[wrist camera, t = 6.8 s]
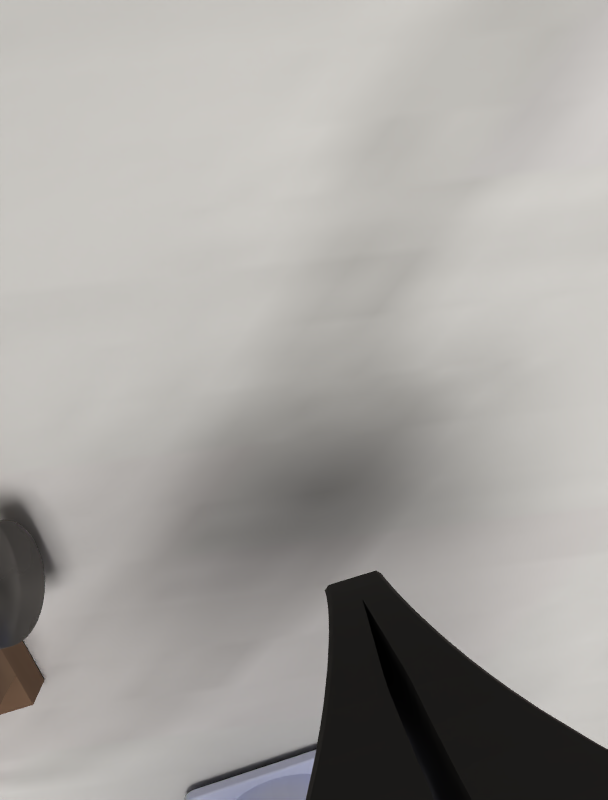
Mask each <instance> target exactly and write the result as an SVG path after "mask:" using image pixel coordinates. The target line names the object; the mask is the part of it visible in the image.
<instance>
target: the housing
mask: <svg viewBox="0 0 608 800" xmlns="http://www.w3.org/2000/svg"><path fill="white" fill-rule="evenodd" d="M43 682H44V679H43V677H42V675H41V673H40V672H39V670H38V668H37V666H36V664H35V663H34V661H33V659H32V657H31V655H30V654H29V652H28V650H27V648H26V646H25V645H24V643H23V641H21V642H20V643H18V644H16V645H14V646H10V647H7V648H3V649H0V715H1V714H4V713H7V712H11V711H14V710H17V709H20V708H24V707H27V706H30V705H33V704H34V702H35V699H36V697H37V695H38V693H39V691H40V688H41V686H42V684H43Z"/></svg>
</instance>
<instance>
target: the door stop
mask: <svg viewBox="0 0 608 800" xmlns="http://www.w3.org/2000/svg"><path fill="white" fill-rule="evenodd" d="M44 592H45V576H44V568H43V562H42V558H41V555H40V552H39V549H38V547H37V545H36V543H35V541H34V539H33V538H32V536H31V535H30V533H29V532H28V531H27V530H26V529H25V528H24V527H23V526H21V525H20V524H18V523H16V522H14V521H10V520H0V649H3V648H7V647H10V646H14V645H16V644H18V643H20V642H21V641H23V640H24V639H25V638H26V637H27V636H28V635H29V634H30V633H31V631H32V630H33V628H34V626H35V625H36V623H37V621H38V618H39V615H40V613H41V609H42V605H43V600H44Z"/></svg>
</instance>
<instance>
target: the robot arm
mask: <svg viewBox="0 0 608 800" xmlns="http://www.w3.org/2000/svg"><path fill="white" fill-rule="evenodd" d="M325 592H326V596H327V602H328V612H329V649H328V668H327V678H326V687H325V697H324V705H323V712H322V719H321V726H320V732H319V737H318V743H317V748H316V750H313V751H310V752H307V753H304V754H301V755H298V756H295V757H292V758H289V759H286V760H283V761H280V762H277V763H274V764H271V765H268V766H265V767H261V768H258V769H255V770H252V771H249V772H246V773H243V774H240V775H237V776H234V777H231V778H228V779H225V780H222V781H219V782H216V783H213V784H210V785H207V786H204V787H201V788H198V789H195V790H192V791H190V792H189V793H188V794H187V795H186V797H185V800H608V749H606V748H604V747H602V746H601V745H599V744H597V743H595V742H594V741H592V740H590V739H589V738H587V737H585V736H584V735H582V734H580V733H579V732H577V731H575V730H574V729H572V728H570V727H569V726H567V725H565V724H564V723H562V722H560V721H559V720H557V719H556V718H554V717H552V716H551V715H549V714H547V713H546V712H544V711H542V710H541V709H539V708H538V707H536V706H535V705H533V704H532V703H530V702H529V701H527V700H526V699H524V698H523V697H521V696H520V695H518V694H517V693H515V692H514V691H512V690H511V689H510V688H508V687H507V686H505V685H504V684H503V683H501V682H500V681H498V680H497V679H496V678H494V677H493V676H492V675H490V674H489V673H488V672H486V671H485V670H484V669H482V668H481V667H480V666H478V665H477V664H476V663H475V662H473V661H472V660H471V659H469V658H468V657H467V656H466V655H465V654H463V653H462V652H461V651H460V650H459V649H457V648H456V647H455V646H454V645H452V644H451V643H450V642H449V641H448V640H447V639H445V638H444V637H443V636H442V635H441V634H440V633H439V632H438V631H436V630H435V629H434V628H433V627H432V626H431V625H430V624H429V623H428V622H427V621H426V620H424V619H423V618H422V617H421V616H420V615H419V614H418V613H417V612H416V611H415V610H414V609H413V608H412V607H411V606H410V605H409V604H408V603H407V602H406V601H405V600H404V599H403V598H402V597H401V596H400V595H399V594H398V593H397V592H396V590H395V589H394V588H393V587H392V586H391V585H390V584H389V583H388V581H387V580H386V579H385V578H384V577H383V575H382V574H381V573H379V572H378V571H373V572H370V573H367V574H363V575H360V576H357V577H354V578H350V579H347V580H344V581H340V582H337V583H334V584H331V585H328V587H327V588H326V590H325Z"/></svg>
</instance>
